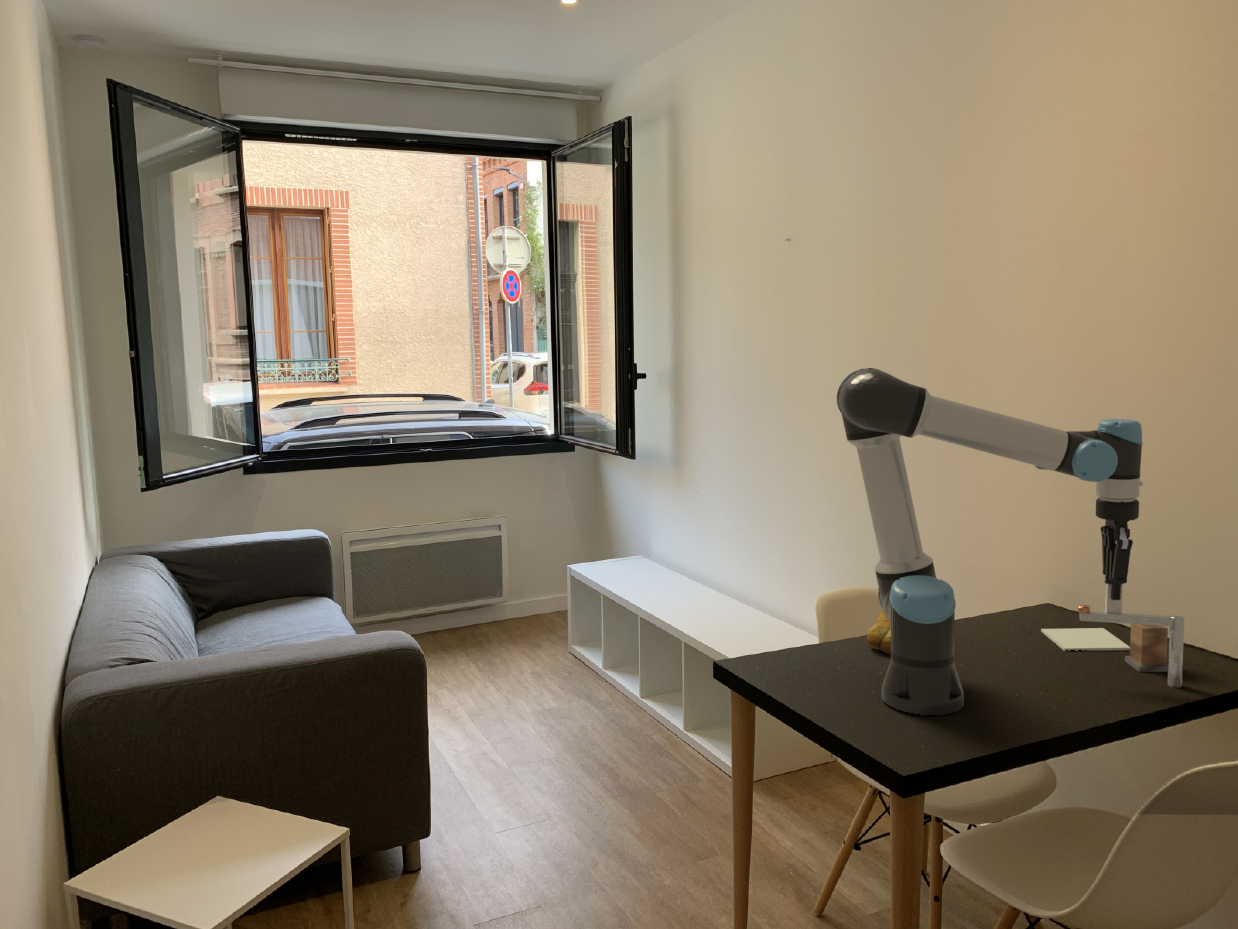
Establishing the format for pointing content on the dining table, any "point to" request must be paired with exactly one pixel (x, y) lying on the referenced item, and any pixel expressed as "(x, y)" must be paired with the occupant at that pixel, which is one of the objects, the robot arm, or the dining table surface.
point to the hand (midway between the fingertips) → (1113, 613)
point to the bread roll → (880, 634)
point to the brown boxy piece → (1148, 648)
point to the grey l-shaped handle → (1173, 621)
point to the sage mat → (1085, 639)
